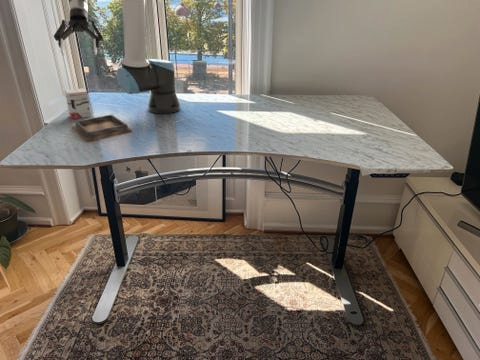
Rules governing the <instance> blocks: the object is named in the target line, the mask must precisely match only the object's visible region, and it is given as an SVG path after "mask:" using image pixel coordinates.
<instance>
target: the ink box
mask: <svg viewBox="0 0 480 360" xmlns="http://www.w3.org/2000/svg"><path fill="white" fill-rule="evenodd" d="M64 93H65V99H66V104H67V109H68V113H69V116H70V118H71V120H76V119H84V118H90V117H91V118H92V116H93V115H92V110H91V103H90V99H89V95H88V91H87V89H86V88H84V87H83V88H76V89H67V90H65V91H64Z"/></svg>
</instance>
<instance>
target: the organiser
mask: <svg viewBox="0 0 480 360" xmlns="http://www.w3.org/2000/svg"><path fill="white" fill-rule="evenodd" d="M71 128H72V129H73V130H74V131H75V132H76V133H77V134H79V136H81V138H83V140H85V141H86V142H93V141H97V140H100V139H106V138H110V137H114V136H119V135H123V134H127V133H129V134H130V133H131V132H132V133H133V130H132V128H130V127H128V124H127V123H125V122H124V121H122V119H120V118H118V117H117V116H116V115H114V114H108V115H102V116H96V117H91V118H90V117H89V118H86V119H82V120H75V121H74V124H73V125H71Z"/></svg>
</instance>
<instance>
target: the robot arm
mask: <svg viewBox="0 0 480 360" xmlns="http://www.w3.org/2000/svg"><path fill="white" fill-rule="evenodd" d="M88 4H89V2H88V0H69V21H67V20H65V19H62V20H61V24H60V26H59V27H58V29H57V30H56V31H55V33H54V35H53V38H54V39H55V41H56V42H58V47H59V48H60V53H61V55H62V56H65V43H66V42H65V40H66V39H67V38H68V37H69V36H70V35H72V34H74V33H75V32H76V33H79V32H81V33H83V32H85V33H86V34H88V35H89V36H90V37H91V38H92V39H93V53H94V56H97V55H98V49H99V48H100V42H104V37H103V35H102V34H101V32H100V30H99V29H98V27H97V26H96V25H97V24H96V21H94V20H91V21H89V6H88ZM121 4H122V5H121V7H122V25H123V44H124V46H123V47H124V58H123V59H122V60H121V67H119V68H117V70H116V78H117V82H118V85H119V86H120V88H121V89H122V90H123V92H124V93H126V94H128V95H138V94H141V93H147V92H149V91H150V96H149V100H148V110H149V112H150V113H154V114H159V115H160V114H162V115H166V114H173V113H176V111H177V112H178V110H179V109H180V110H181V104H180V100H179V99H178V96H177V93H176V79H175V78H176V77H175V71H176V70H175V66H174V63H173V62H172V61H170V60H165V59H159V58H158V59H157V58H149V59H147V48H146V47H147V43H146V42H147V39H146V38H147V36H146V0H121ZM89 27H91V28H92V29H93V31H94V32H93V31H92V30H91V29H90V28H89ZM180 110H179V111H180ZM172 112H173V113H172Z"/></svg>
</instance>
